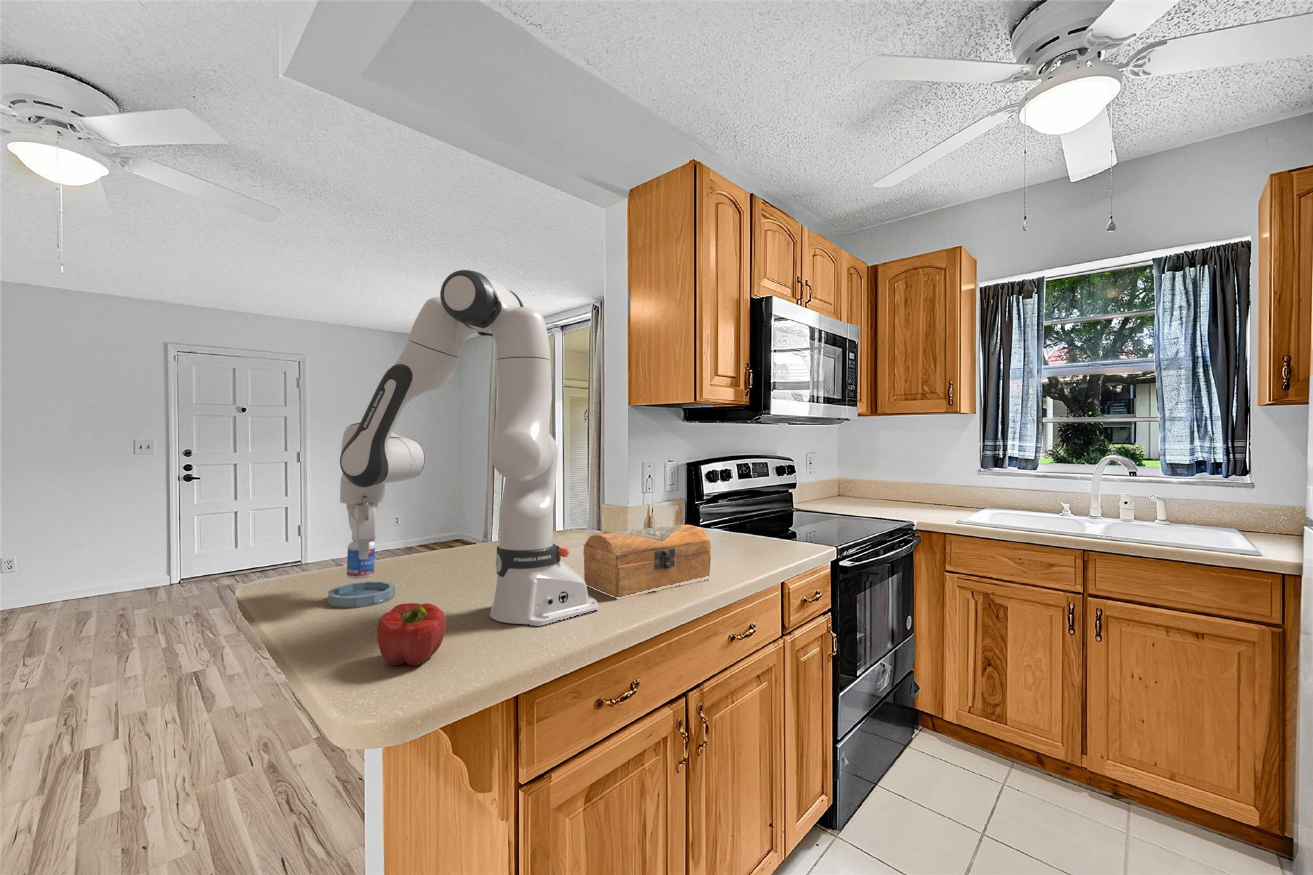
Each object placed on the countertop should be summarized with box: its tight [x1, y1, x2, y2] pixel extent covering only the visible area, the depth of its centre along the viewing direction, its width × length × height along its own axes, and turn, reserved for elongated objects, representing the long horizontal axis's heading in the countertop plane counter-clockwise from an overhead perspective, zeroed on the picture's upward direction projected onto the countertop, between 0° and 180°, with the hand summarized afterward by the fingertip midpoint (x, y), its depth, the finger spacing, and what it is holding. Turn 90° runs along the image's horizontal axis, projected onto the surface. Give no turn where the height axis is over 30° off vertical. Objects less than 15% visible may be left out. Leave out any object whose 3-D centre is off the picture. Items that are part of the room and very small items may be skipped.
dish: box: [327, 580, 396, 609], centre depth 122 cm, size 13×13×2 cm
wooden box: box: [582, 524, 712, 597], centre depth 138 cm, size 30×16×14 cm, turn 127°
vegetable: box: [376, 602, 447, 666], centre depth 89 cm, size 11×10×10 cm
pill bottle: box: [346, 533, 376, 580], centre depth 122 cm, size 6×5×10 cm
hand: (361, 555), depth 122 cm, fingers closed on pill bottle, 5 cm apart
